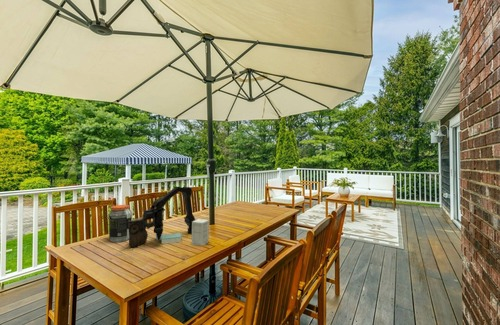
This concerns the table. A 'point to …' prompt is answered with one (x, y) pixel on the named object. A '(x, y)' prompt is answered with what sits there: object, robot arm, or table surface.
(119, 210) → the supplement tub
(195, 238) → the supplement box
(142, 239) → the owl
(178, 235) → the lid
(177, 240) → the tub
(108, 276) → the table surface
